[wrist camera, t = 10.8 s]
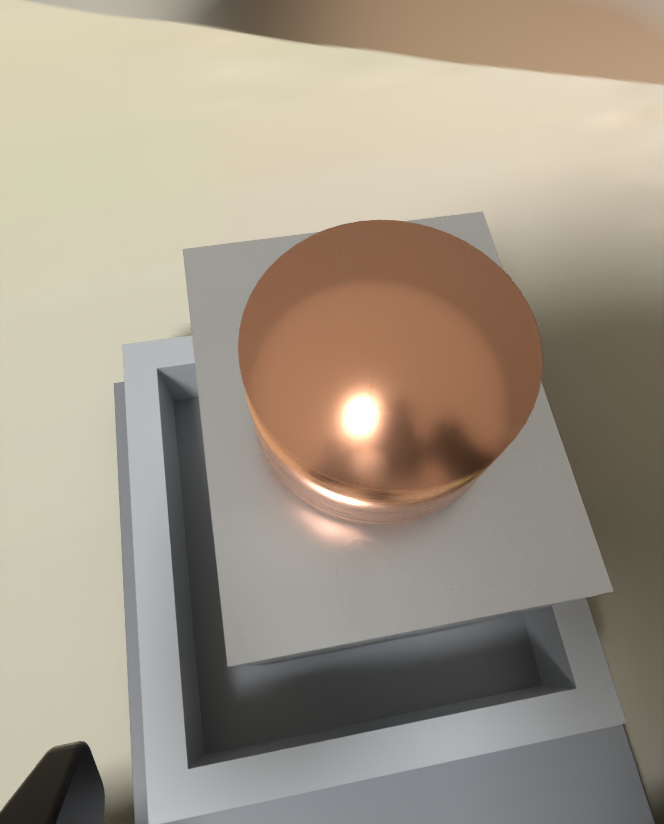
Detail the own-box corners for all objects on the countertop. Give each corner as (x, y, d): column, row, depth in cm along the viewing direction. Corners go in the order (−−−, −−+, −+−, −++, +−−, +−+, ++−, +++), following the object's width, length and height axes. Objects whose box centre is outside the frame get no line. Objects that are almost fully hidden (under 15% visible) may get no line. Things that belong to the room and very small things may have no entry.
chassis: (854, 1084, 15) (1244, 1388, 9) (14, 1328, 13) (-261, 1947, 7) (570, 329, 24) (666, 206, 17) (26, 408, 22) (-94, 302, 15)
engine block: (454, 628, 18) (695, 572, 7) (272, 664, 18) (203, 667, 6) (403, 419, 21) (515, 124, 10) (243, 444, 20) (156, 164, 9)
